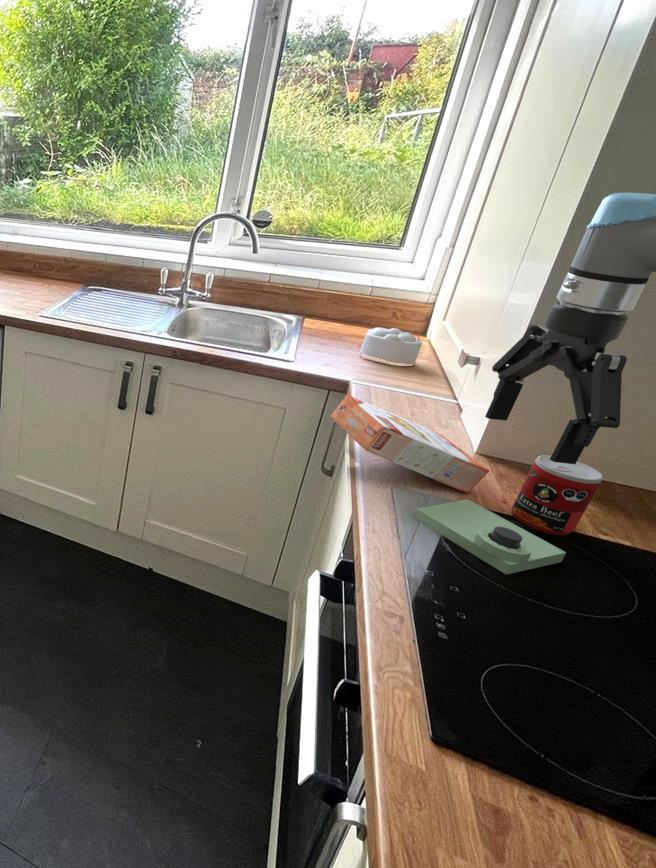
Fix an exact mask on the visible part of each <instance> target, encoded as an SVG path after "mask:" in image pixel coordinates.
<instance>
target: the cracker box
mask: <svg viewBox="0 0 656 868" xmlns="http://www.w3.org/2000/svg"><path fill="white" fill-rule="evenodd" d="M329 417H330V418H331V419H332V420H333V421H334V422H335V423H336V424H337V425H338V426H339V427H340V428H341V429H342V430H343V431H344V432H345V433H346V434H347V435H348V436H349V437H351V439H353V441H354V442H355V443H357V444H358V445H359V446H360V447H361V449H363V450H364V451H366V452H368V453H371V454H372V455H375V456H377V457H379V458H382V459H385V460H387V461H390V462H392V463H394V464H397V465H399V466H401V467H404V468H405V469H409V470H410V471H413V472H416V473H418V474H421V475H422V476H425V477H428V478H429V479H432V480H434V481H437V482H440V483H441V484H444V485H446V486H449V487H451V488H454V489H456V490H458V491H461V492H463V493H466V494H469V493H470V492H471V491H472V490H473V489H474V488H475V487H476V486H477V484H478V483H480V482H481V481H482V479H484V477H485V476H486V475H487V474H488V473H489V472H490V470H489V469H488V468H486V467H485V466H484V465H482V464H481V463H480V462H479V461H477V460H476V459H475V458H473V457H472V456H471V455H469V454H468V453H466V452H465V451H464V450H463V449H461V448H460V447H458V446H457V445H456V444H454V443H453V442H452V441H451V440H449V439H448V438H447V437H445V436H444V435H443V434H441V433H439V432H437V431H434V430H432V429H429V428H427V427H425V426H422V425H420V424H418V423H415V422H413V421H411V420H408V419H406V418H404V417H401V416H399V415H396V414H394V413H392V412H389V411H387V410H384V409H382V408H381V407H378V406H376V405H372V404H370V403H368V402H366V401H363V400H361V399H359V398H357V397H354V396H352V395H349V394H346V395H344V397H343V399H342V400H341V401H340V403H339V404H338V406H337V407H336V408H335V409H334V411H333V412H332V413H331V414H330V416H329Z"/></svg>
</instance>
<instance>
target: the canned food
mask: <svg viewBox="0 0 656 868" xmlns="http://www.w3.org/2000/svg"><path fill="white" fill-rule="evenodd" d="M551 456H552V454H550V455H548V454H547V455H546V454H542V455H538V456H537V457H536V459H535V460H534V461H533V464H532V465H531V467H530V470H529V472H528V474H527V475H526V477H525V480H524V482H523V484H522V485H521V488H520V490H519V492H518V493H517V496H516V498H515V499H514V502H513V504H512V506H511V515H512V516H513V518H515V519H516V520H517V521H518V522H519V523H521V524H523V525H525V526H527V527H528V528H531V529H533V530H536V531H539V532H542V533H546V534H549V535H555V536H567V535H570V534H571V533H573V531H575V529H576V527H577V526H578V524H579V522H580V520H581V519H582V517H583V516H584V514H585V512H586V510H587V508H588V507H589V505H590V503H591V501H592V499H593V498H594V496H595V495H596V492H597V491H598V489H599V487H600V485H601V483H602V481H603V478H604V476H603V474H602V473H601V472H600V471H598V470H597V469H596V468H594V467H592V466H590V465H587V464H586V463H582V462H580V461H577V462H576V464H568V463H559V462H553V461H552V460H550V458H551Z"/></svg>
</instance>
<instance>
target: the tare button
mask: <svg viewBox="0 0 656 868" xmlns="http://www.w3.org/2000/svg"><path fill="white" fill-rule="evenodd" d="M490 539H491V540H492V541H494V542H495V543H497V544H499V545H501V546H504V547H507V548H512V549H517V548H518V546H519V545H520V543H521V541H522V536H521V535H520V534H518V533H517V532H515V531H513V530H511V529H508V528H504V527H495V528H494V530H493V532H492V534H491V536H490Z"/></svg>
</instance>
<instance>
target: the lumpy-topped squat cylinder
mask: <svg viewBox="0 0 656 868" xmlns="http://www.w3.org/2000/svg"><path fill="white" fill-rule="evenodd" d="M422 345H423V341H422V340H421V339H419V338H417V337H415V335H413V334H412V333H410V332H408V331H407V332H403V331H402V330H401V329H399V328H396V327H393V328H385V327H380V326H379V327H378V326H377V327H374V328H369V329H368V330H367V332H366V333H365V336H364V339H363V342H362V345H361V348H360V351H359V353H360V352H361V353H363V354H365V355H368V356H371V357H375V358H379V359H383V360H386V361H390V362H395V363H405V364H413V363H415V364H416V361H417V359H418V356H419V354H420V351H421V348H422Z"/></svg>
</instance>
